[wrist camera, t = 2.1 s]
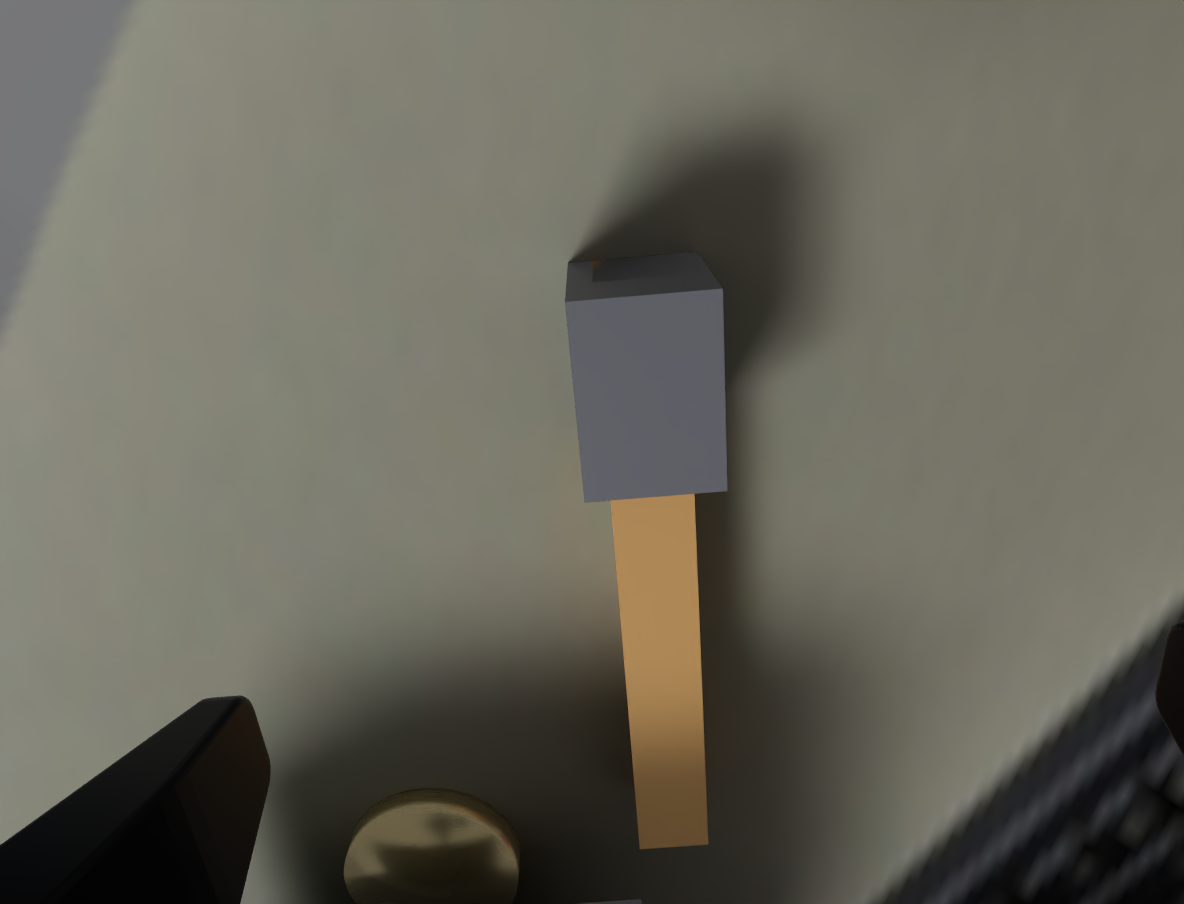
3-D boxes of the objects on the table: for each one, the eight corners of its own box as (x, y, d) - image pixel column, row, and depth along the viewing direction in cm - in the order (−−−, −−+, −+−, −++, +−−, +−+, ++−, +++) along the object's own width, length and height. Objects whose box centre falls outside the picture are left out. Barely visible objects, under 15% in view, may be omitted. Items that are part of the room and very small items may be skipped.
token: (510, 774, 25) (506, 806, 23) (530, 896, 26) (528, 932, 25) (338, 786, 25) (327, 819, 24) (371, 907, 27) (362, 943, 26)
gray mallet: (697, 251, 18) (722, 288, 15) (715, 779, 24) (736, 889, 21) (567, 262, 18) (565, 302, 15) (617, 787, 24) (623, 897, 21)
